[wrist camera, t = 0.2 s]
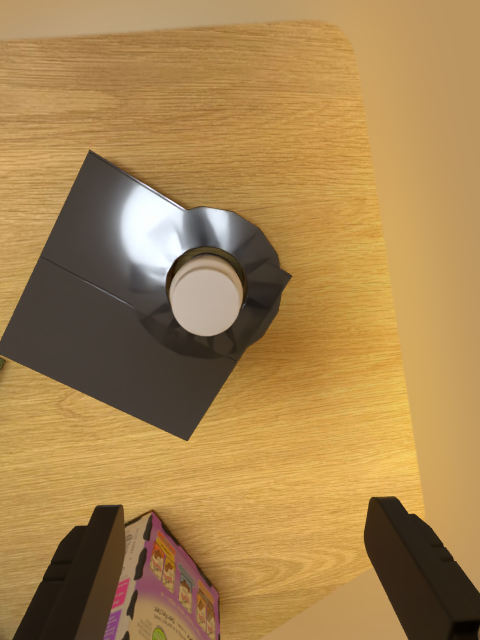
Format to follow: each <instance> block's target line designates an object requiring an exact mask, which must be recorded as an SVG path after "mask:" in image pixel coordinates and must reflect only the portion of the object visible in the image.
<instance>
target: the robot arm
mask: <svg viewBox="0 0 480 640" xmlns="http://www.w3.org/2000/svg"><path fill="white" fill-rule="evenodd" d="M364 543H365V548H366V551H367V554H368V556H369V559H370V561H371V563H372V565H373V567H374V569H375V571H376V573H377V575H378V577H379V579H380V581H381V583H382V586H383V588H384V590H385V592H386V594H387V596H388V598H389V600H390V602H391V604H392V606H393V609H394V611H395V613H396V615H397V617H398V619H399V621H400V623H401V625H402V627H403V629H404V631H405V633H406V636H407V638H408V640H480V593H479V592H478V590H477V589H476V588H475V586H474V585H473V584H472V582H471V581H470V580H469V578H468V577H467V576H466V574H465V573H464V571H463V570H462V569H461V567H460V566H459V565H458V563H457V562H456V561H454V559H453V557H452V555H451V554H450V553H449V551H448V550H447V548H446V547H444V546H443V543H442V542H441V540H440V539H439V538H438V536H437V535H436V534H435V533H434V531H433V530H432V528H431V527H430V526H429V525H427V524H426V523H425V522H424V521H423V520H421V519H420V518H419V517H418V516H417V515H415V514H408V512H407V511H406V510H405V508H404V507H403V505H402V504H401V502H400V501H399V500H398V499H397V498H396V497H394V496H389V497H372V498H371V499H370V501H369V506H368V512H367V518H366V524H365V530H364ZM125 549H126V539H125V524H124V510H123V505H98V506H96V508H95V509H94V512H93V514H92V516H91V519H90V521H89V523H88V526H75V527H74V528H73V529H72V530H71V531H70V532H69V534H68V535H67V536H66V537H65V538H64V539H63V540H62V541H61V542H60V544H59V546H58V548H57V550H56V552H55V554H54V556H53V558H52V560H51V564H50V565H49V566H48V568H47V570H46V572H45V574H44V576H43V580H42V582H41V583H40V585H39V587H38V589H37V591H36V593H35V595H34V597H33V599H32V601H31V603H30V605H29V607H28V609H27V611H26V613H25V615H24V617H23V619H22V621H21V623H20V625H19V627H18V629H17V631H16V633H15V635H14V637H13V639H12V640H103V639H104V635H105V631H106V627H107V624H108V620H109V616H110V613H111V609H112V605H113V601H114V598H115V594H116V590H117V587H118V583H119V579H120V575H121V572H122V568H123V564H124V558H125Z"/></svg>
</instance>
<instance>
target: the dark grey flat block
mask: <svg viewBox="0 0 480 640" xmlns="http://www.w3.org/2000/svg"><path fill="white" fill-rule="evenodd" d="M203 246H206V247H213V248H219V249H222V250H223V251H225V252H227V253H228V254H230V255H232V256H233V257H234V258H235V259H236V261H237V262H238V263H239V265H240V266H241V269H242V273H243V278H244V285H243V299H242V304H241V307H240V310H239V313H238V316H237V318H236V320H235V321H234V323H233V324H232V325H231V326H230V327H229V328H228V329H227V330H225V331H223V332H221V333H219V334H217V335H213V336H200V335H196V334H193V333H191V332H189V331H187V330H186V329H184V328H183V327H182V326H181V325H180V324H179V323H178V321H177V320H176V318H175V316H174V314H173V311H172V306H171V302H170V286H171V277H172V269H173V268H174V266H175V264H176V262H177V260H178V259H179V257H180V256H182V255H183V254H184V253H186V252H187V251H188V250H191V249H195V248H199V247H203ZM291 277H292V275H290V274H289V273H287V272H285V271H284V270H282V269H281V268H280V264H279V259H278V255H277V253H276V251H275V250H274V248H273V247H272V245H271V244H270V242H269V241H268V240H267V238H266V237H265V235H264V234H263V232H262V231H261V229H259V228H258V227H257V226H255V225H254V224H252V223H251V222H249V221H247V220H246V219H244V218H243V217H241V216H240V215H238V214H237V213H235V212H233V211H228V210H222V209H216V208H210V207H204V206H199V207H196V208H192V209H188V210H186V209H184V208H183V207H181V206H179V205H178V204H176V203H175V202H173V201H171V200H170V199H168V198H167V197H165V196H163V195H162V194H160V193H159V192H157V191H155V190H154V189H152V188H151V187H149V186H147V185H146V184H144V183H143V182H141V181H139V180H138V179H136V178H135V177H133V176H131V175H130V174H128V173H127V172H125V171H123V170H122V169H120V168H118V167H117V166H115V165H114V164H112V163H110V162H109V161H107V160H106V159H104V158H102V157H101V156H99V155H98V154H96V153H94V152H93V151H91V150H90V149H89V152H88V154H87V156H86V158H85V160H84V163H83V165H82V167H81V169H80V171H79V173H78V175H77V178H76V180H75V182H74V184H73V186H72V188H71V191H70V193H69V195H68V197H67V199H66V201H65V203H64V206H63V208H62V210H61V212H60V214H59V216H58V218H57V221H56V223H55V225H54V227H53V229H52V231H51V233H50V236H49V238H48V240H47V242H46V244H45V246H44V248H43V251H42V253H41V255H40V257H39V259H38V261H37V264H36V266H35V268H34V270H33V272H32V274H31V276H30V279H29V281H28V283H27V285H26V287H25V289H24V291H23V294H22V296H21V298H20V300H19V302H18V304H17V306H16V309H15V311H14V313H13V315H12V317H11V319H10V321H9V324H8V326H7V328H6V330H5V332H4V334H3V336H2V339H1V341H0V355H2V356H4V357H7V358H9V359H11V360H13V361H15V362H17V363H19V364H22V365H24V366H26V367H28V368H30V369H32V370H35V371H37V372H39V373H41V374H43V375H45V376H48V377H50V378H52V379H54V380H56V381H58V382H60V383H63V384H65V385H67V386H69V387H71V388H73V389H76V390H78V391H80V392H82V393H84V394H86V395H89V396H91V397H93V398H95V399H97V400H99V401H101V402H104V403H106V404H108V405H110V406H112V407H114V408H117V409H119V410H121V411H123V412H125V413H127V414H130V415H132V416H134V417H136V418H138V419H140V420H142V421H145V422H147V423H149V424H151V425H153V426H155V427H158V428H160V429H162V430H164V431H166V432H168V433H171V434H173V435H175V436H177V437H179V438H181V439H183V440H186V441H188V440H189V438H190V437H191V435H192V433H193V432H194V430H195V429H196V427H197V426H198V424H199V422H200V421H201V419H202V418H203V416H204V415H205V413H206V411H207V410H208V408H209V407H210V405H211V403H212V402H213V400H214V399H215V397H216V396H217V394H218V392H219V391H220V389H221V388H222V386H223V385H224V383H225V381H226V380H227V378H228V377H229V375H230V373H231V372H232V370H233V369H234V367H235V366H236V364H237V361H239V359H240V358H241V356H242V355H243V353H244V351H245V350H246V348H248V347H249V346H250V345H252V344H253V343H255V342H256V341H257V340H259V339H260V338H262V336H263V335H264V334H265V332H266V331H267V329H268V328H269V326H270V324H271V323H272V321H273V320H274V318H275V317H276V315H277V314H278V311H279V306H280V300H281V295H282V291H283V290H284V288H285V287H286V285H287V284H288V282H289V280H290V279H291Z"/></svg>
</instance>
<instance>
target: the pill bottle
mask: <svg viewBox="0 0 480 640" xmlns="http://www.w3.org/2000/svg"><path fill="white" fill-rule="evenodd" d="M242 299H243V290H242V285H241V282H240V279H239V277H238V275H237V274H236V272H235V270H234V269H233V267H232V266H231V264H230V263H229V262H228V261H227V260H226V259H224V258H223V257H221V256H219V255H216V254H212V253H202V254H198V255H195V256H193V257H191V258H190V259H188V260H187V261H186V262H185V263H184V264H183V266H182V267H181V268H180V269H179V270H178V272H177V273H176V275H175V276H174V278H173V280H172V283H171V286H170V302H171V306H172V311H173V314H174V316H175V318H176V320H177V321H178V323H179V324H180V325H181V326H182V327H183V328H184V329H186V330H187V331H189V332H191V333H193V334H196V335H200V336H213V335H217V334H219V333H221V332H223V331H225V330H227V329H228V328H229V327H230V326H231V325H232V324H233V323H234V321H235V320H236V318H237V316H238V313H239V310H240V307H241V304H242Z"/></svg>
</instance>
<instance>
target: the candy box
mask: <svg viewBox="0 0 480 640" xmlns="http://www.w3.org/2000/svg"><path fill="white" fill-rule="evenodd" d="M125 539H126V549H125V558H124V564H123V568H122V572H121V575H120V579H119V583H118V587H117V590H116V594H115V598H114V601H113V605H112V609H111V613H110V616H109V620H108V624H107V627H106V631H105V635H104V639H103V640H220V612H219V593H218V592H217V591H216V589H215V588H214V587H213V585H212V584H211V583H210V582H209V581H208V580H207V579H206V577H205V576H204V574H203V573H202V572H201V570H200V569H199V568H198V567H197V566H196V565H195V563H194V562H193V561H192V559H191V558H190V557H189V556H188V554H187V553H186V552H185V551H184V550H183V549H182V547H181V546H180V545H179V544H178V542H177V541H176V540H175V539H174V537H173V536H172V535H171V534H170V533H169V531H168V530H167V529H166V528H165V526H164V525H163V524H162V522H161V521H160V520H159V519H158V517H157V516H156V515H155V514H154V512H151V513H149V514H147V515H144V516H142V517H140V518H138V519H137V520H135V521H133V522H131V523H129V524H127V525H125Z"/></svg>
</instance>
